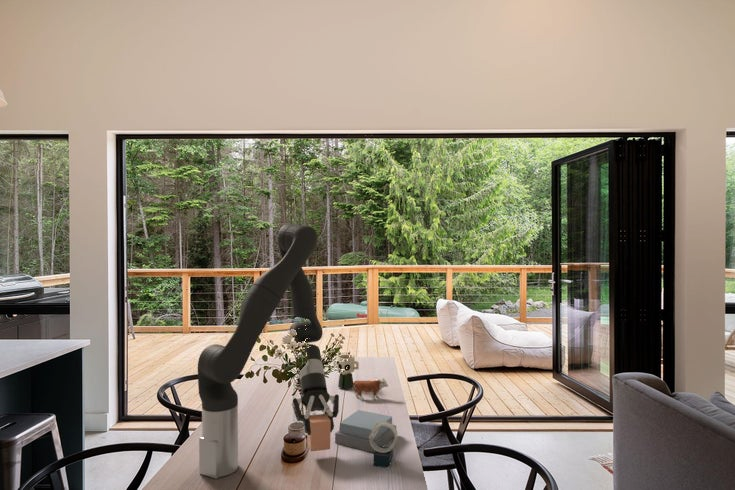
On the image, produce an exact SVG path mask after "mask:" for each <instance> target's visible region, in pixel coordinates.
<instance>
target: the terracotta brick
mask: <svg viewBox="0 0 735 490" xmlns="http://www.w3.org/2000/svg"><path fill="white" fill-rule="evenodd" d="M309 421H310V429H311V434H310V435H307V434H306V438H307V439H306V443H307V446H308V448H309V450H310V452H311V453H312V452H318V451H327V450H328V451H329V450H331V433H332V432H331V421H330V419H329V417H328V416H327V414H323V413H320V414H309ZM330 432H331V433H330Z"/></svg>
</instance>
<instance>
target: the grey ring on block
mask: <svg viewBox="0 0 735 490" xmlns="http://www.w3.org/2000/svg"><path fill="white" fill-rule="evenodd" d="M393 425H394V424H393V423H392V424H391V423H389V422H384V421H381V422H380V423H377V424H376V425H375V427H374V429H373V430H372V432H371V434H370V435H369V438H370V440H369V442H370V444H371V446H372V448H373V449H374V450H376V451H375V453H374V452H373V462H372V463H373V467H378V466H380V467H379V468H386V467H389V466H391V464H392V462H393V459H394V458H393V457H394V447H395V445H396V443H397V440H398V437H399V436H398V431H397V427H396V428H395V427H394V426H393ZM381 426H387V427H389V428H390V429H392V431H393V432H394V434H395V436H394V437H393V442H392V443H391V444H390V445H389V446H384V447H383V446H377V445H376V444H375V443H374V441H373V439H374V438H375V436H376V435H377V433H378V431H379V430H380V428H381ZM392 458H393V459H392ZM391 461H392V462H391ZM390 463H391V464H390ZM389 468H390V467H389Z"/></svg>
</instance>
